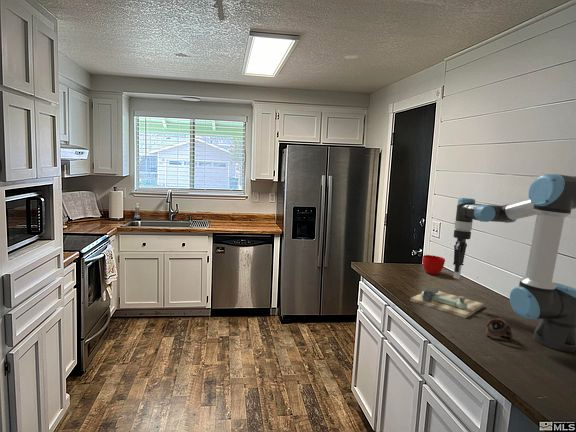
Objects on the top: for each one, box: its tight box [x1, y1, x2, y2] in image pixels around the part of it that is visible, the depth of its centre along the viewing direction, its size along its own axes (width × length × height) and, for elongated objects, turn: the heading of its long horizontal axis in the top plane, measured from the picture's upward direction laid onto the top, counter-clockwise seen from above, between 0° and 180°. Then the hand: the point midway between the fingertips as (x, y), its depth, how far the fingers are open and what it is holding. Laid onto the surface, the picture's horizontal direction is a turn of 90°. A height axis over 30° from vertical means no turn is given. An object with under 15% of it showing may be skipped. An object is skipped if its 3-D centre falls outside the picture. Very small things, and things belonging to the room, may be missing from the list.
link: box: [420, 290, 468, 309], centre depth 193 cm, size 22×5×2 cm, turn 48°
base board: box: [409, 290, 485, 319], centre depth 196 cm, size 26×25×7 cm
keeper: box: [423, 287, 440, 302], centre depth 195 cm, size 3×10×4 cm, turn 138°
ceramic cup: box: [422, 254, 446, 276], centre depth 255 cm, size 13×17×10 cm
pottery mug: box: [485, 316, 514, 341], centre depth 161 cm, size 12×10×8 cm
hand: (456, 278), depth 198 cm, fingers closed
